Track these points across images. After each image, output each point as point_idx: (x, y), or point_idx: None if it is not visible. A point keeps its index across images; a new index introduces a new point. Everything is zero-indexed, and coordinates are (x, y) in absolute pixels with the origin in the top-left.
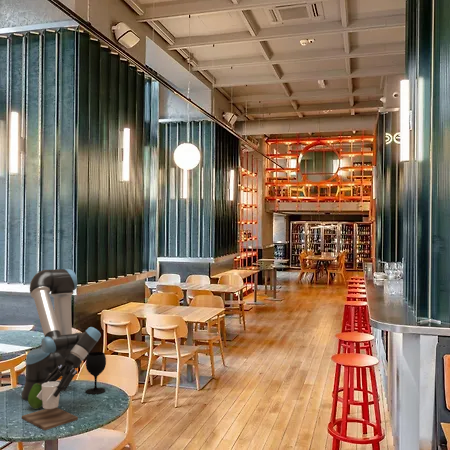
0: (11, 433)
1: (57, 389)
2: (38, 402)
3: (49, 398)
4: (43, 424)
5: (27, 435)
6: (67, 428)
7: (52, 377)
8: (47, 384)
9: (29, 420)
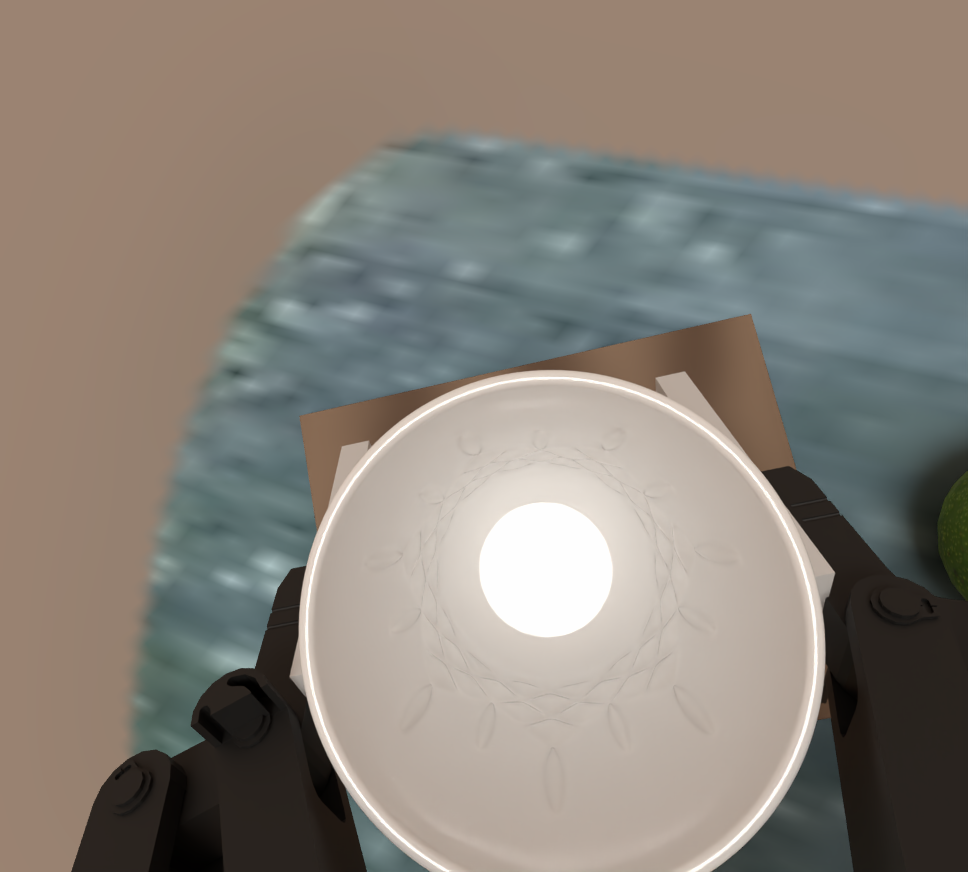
0: (424, 177)
1: (298, 682)
2: (957, 531)
3: (336, 487)
4: (378, 427)
5: (302, 274)
6: (227, 604)
7: (952, 864)
8: (771, 593)
9: (585, 353)
